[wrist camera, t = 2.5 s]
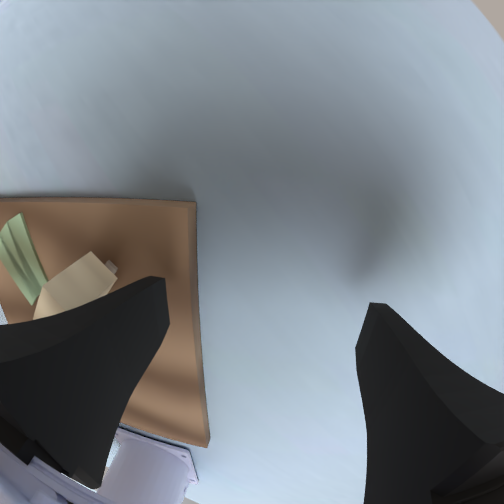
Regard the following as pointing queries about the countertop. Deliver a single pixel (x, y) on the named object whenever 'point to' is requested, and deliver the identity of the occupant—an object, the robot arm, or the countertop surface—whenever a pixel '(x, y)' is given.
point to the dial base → (127, 271)
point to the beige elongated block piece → (75, 286)
